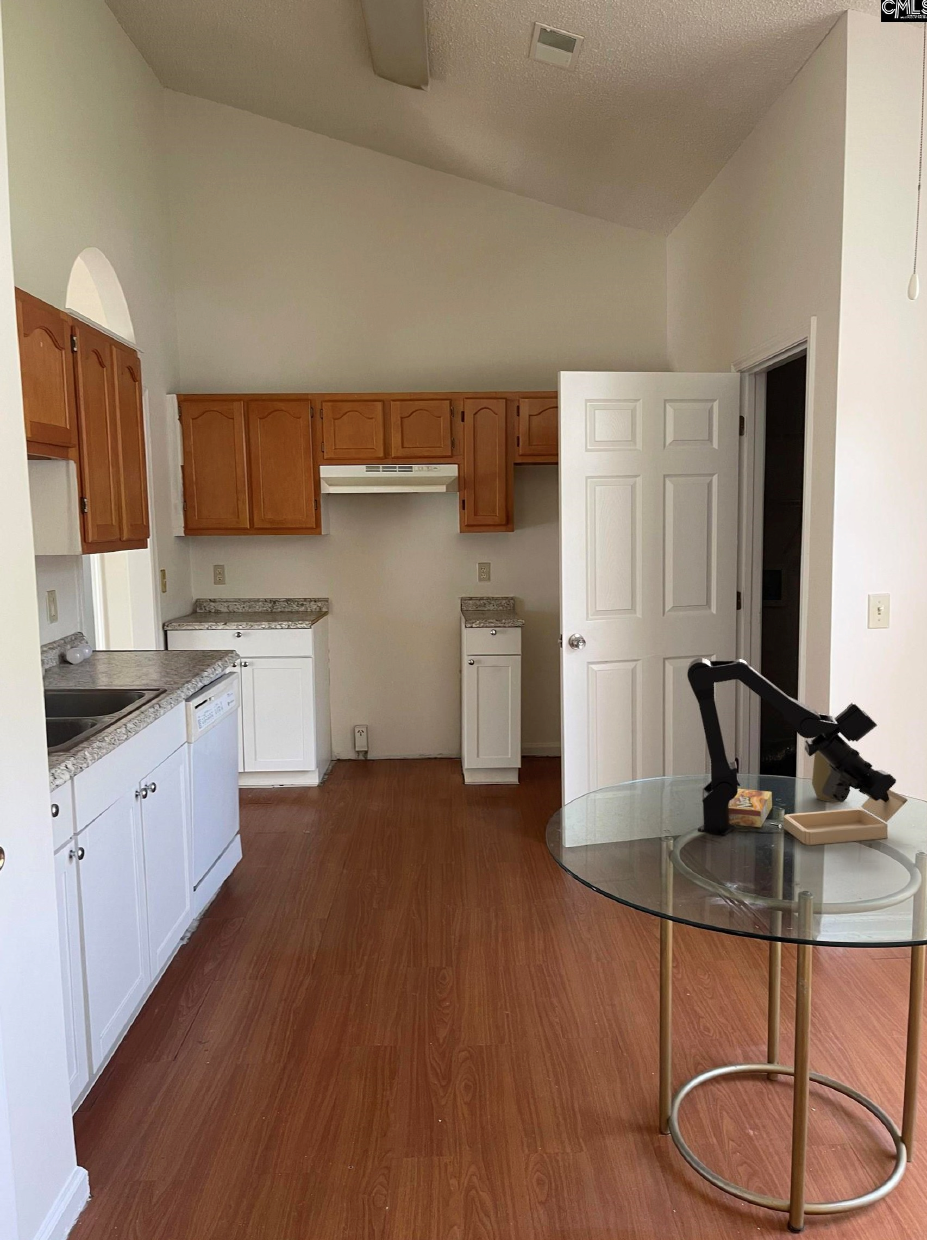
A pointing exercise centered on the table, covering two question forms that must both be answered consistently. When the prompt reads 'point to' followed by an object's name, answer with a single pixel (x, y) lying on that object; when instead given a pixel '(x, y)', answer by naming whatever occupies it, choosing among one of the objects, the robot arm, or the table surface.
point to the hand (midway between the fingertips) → (887, 800)
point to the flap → (885, 806)
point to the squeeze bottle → (820, 776)
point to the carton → (834, 826)
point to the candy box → (750, 807)
